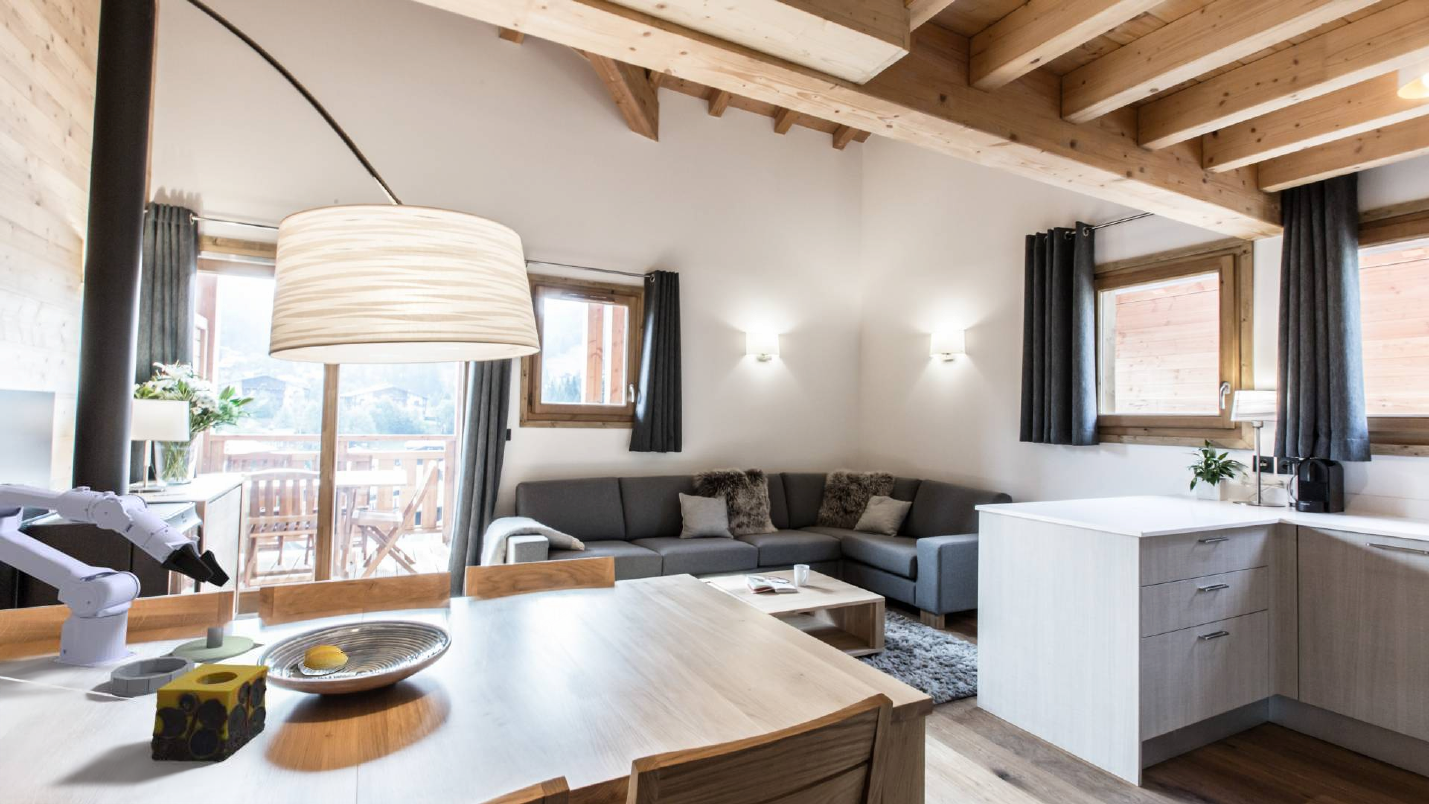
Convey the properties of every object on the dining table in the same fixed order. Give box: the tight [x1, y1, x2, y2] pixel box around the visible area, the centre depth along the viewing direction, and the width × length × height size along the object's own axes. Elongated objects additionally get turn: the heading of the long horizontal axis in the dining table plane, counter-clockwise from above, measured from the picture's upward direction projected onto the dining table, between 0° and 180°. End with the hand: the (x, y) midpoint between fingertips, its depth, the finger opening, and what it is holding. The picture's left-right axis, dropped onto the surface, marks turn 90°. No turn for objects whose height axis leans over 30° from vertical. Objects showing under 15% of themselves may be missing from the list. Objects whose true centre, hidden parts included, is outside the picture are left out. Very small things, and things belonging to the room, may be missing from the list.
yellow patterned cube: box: [150, 663, 269, 762], centre depth 99 cm, size 10×10×10 cm
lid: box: [172, 625, 255, 663], centre depth 135 cm, size 13×13×4 cm
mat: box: [158, 642, 266, 664], centre depth 135 cm, size 12×12×1 cm
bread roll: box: [303, 644, 349, 670], centre depth 130 cm, size 8×9×4 cm
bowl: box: [109, 656, 196, 699], centre depth 118 cm, size 11×11×3 cm
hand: (217, 580), depth 129 cm, fingers open, 7 cm apart
